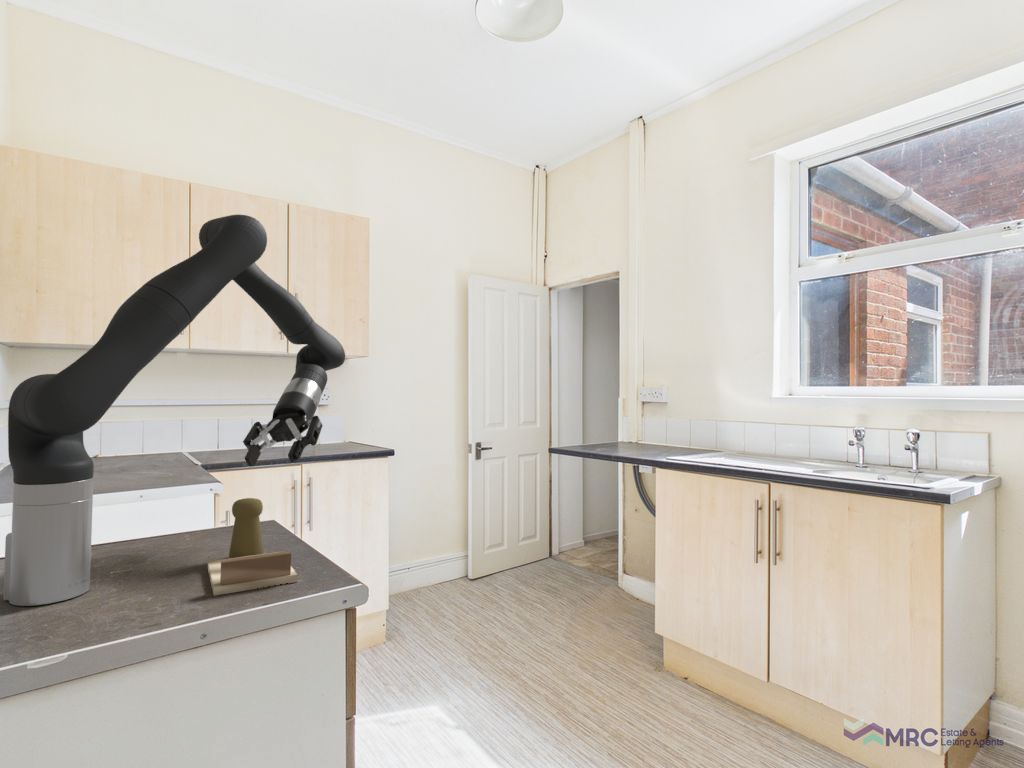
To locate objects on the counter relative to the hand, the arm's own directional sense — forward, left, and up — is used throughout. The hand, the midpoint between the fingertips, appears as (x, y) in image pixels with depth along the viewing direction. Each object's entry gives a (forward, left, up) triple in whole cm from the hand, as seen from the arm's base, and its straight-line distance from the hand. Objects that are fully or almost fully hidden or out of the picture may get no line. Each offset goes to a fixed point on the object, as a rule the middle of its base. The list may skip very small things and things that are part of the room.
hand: (270, 461), depth 101 cm
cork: (-4, -1, -18) cm, 19 cm away
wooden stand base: (+3, -9, -18) cm, 20 cm away
